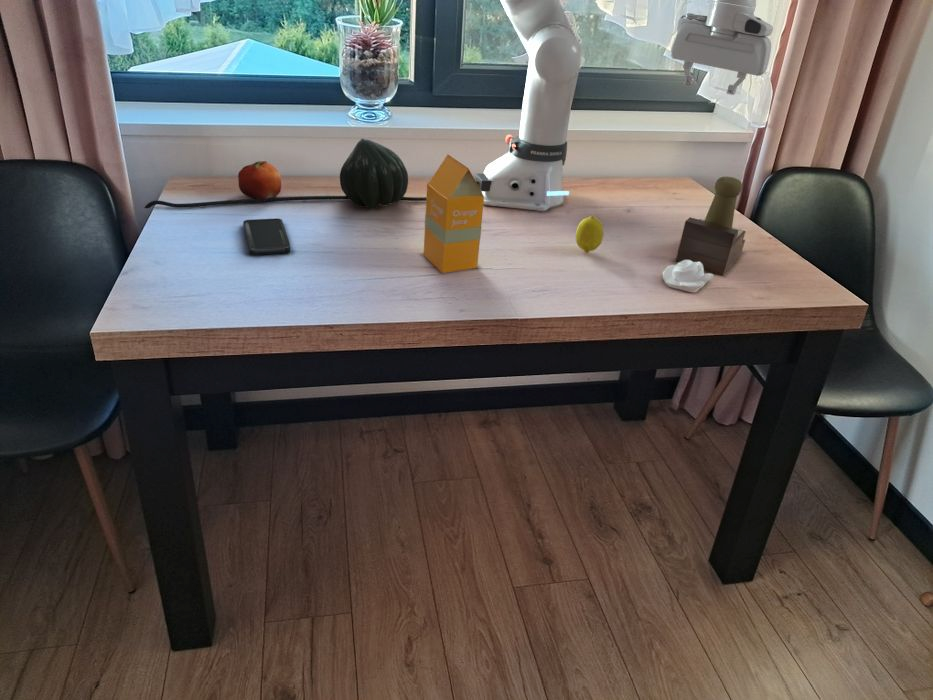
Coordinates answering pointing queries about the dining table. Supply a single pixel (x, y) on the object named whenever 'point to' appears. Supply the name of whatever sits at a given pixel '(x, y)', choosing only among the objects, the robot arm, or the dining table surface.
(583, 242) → the lemon
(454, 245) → the orange juice
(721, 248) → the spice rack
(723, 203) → the cork
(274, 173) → the tomato
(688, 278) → the rose
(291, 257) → the dining table surface
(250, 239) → the phone
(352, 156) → the squash
